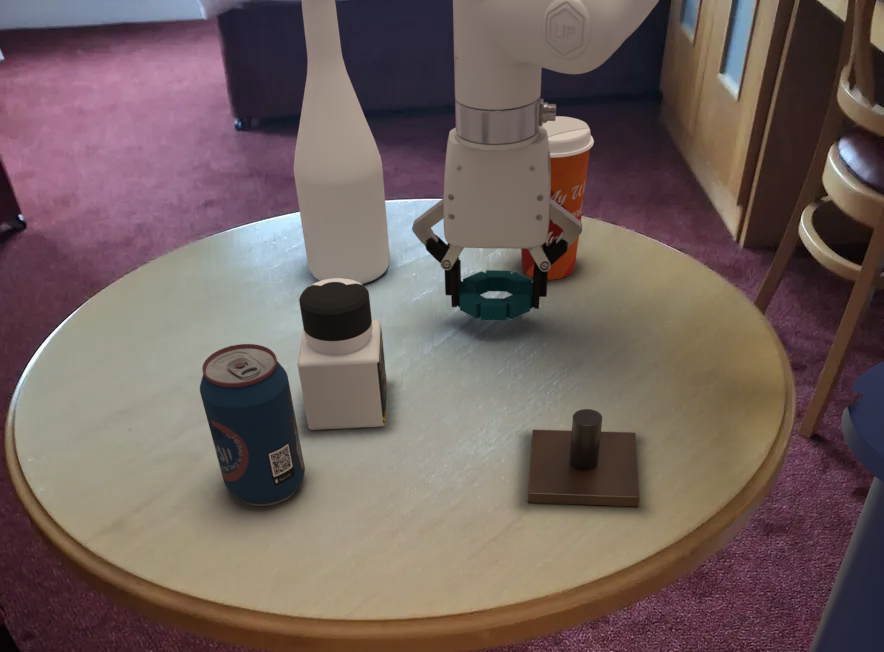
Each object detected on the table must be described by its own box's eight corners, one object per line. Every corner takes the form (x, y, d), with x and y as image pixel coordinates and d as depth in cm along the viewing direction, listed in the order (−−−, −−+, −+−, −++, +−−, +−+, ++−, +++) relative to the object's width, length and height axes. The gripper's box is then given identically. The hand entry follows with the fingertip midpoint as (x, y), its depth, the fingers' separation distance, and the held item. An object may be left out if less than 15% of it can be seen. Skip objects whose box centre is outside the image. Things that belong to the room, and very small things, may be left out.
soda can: (211, 485, 79) (177, 363, 70) (277, 451, 82) (252, 330, 74) (256, 522, 75) (225, 398, 67) (323, 485, 78) (302, 362, 70)
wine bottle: (326, 248, 110) (285, -51, 89) (400, 254, 108) (377, -50, 87) (297, 285, 104) (246, -27, 83) (376, 292, 102) (344, -26, 81)
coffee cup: (549, 292, 100) (556, 148, 90) (497, 268, 105) (497, 129, 94) (600, 266, 104) (612, 125, 93) (547, 244, 108) (553, 108, 98)
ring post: (634, 441, 81) (641, 387, 77) (638, 507, 74) (646, 452, 70) (532, 438, 82) (534, 385, 78) (527, 502, 75) (529, 448, 72)
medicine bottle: (385, 428, 84) (373, 307, 75) (308, 431, 84) (287, 311, 75) (387, 385, 89) (375, 267, 80) (314, 388, 89) (295, 271, 80)
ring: (534, 285, 96) (534, 270, 95) (531, 321, 91) (531, 306, 90) (462, 283, 97) (462, 269, 96) (455, 319, 92) (455, 305, 91)
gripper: (595, 104, 83) (581, 285, 96) (407, 105, 85) (417, 283, 98) (596, 134, 78) (580, 322, 91) (395, 134, 80) (407, 318, 93)
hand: (496, 300), depth 94 cm, fingers closed on ring, 7 cm apart
